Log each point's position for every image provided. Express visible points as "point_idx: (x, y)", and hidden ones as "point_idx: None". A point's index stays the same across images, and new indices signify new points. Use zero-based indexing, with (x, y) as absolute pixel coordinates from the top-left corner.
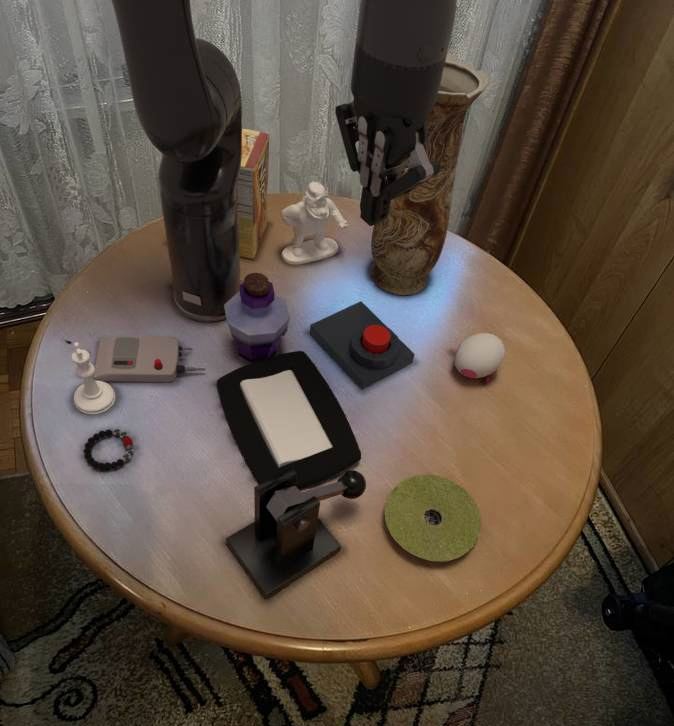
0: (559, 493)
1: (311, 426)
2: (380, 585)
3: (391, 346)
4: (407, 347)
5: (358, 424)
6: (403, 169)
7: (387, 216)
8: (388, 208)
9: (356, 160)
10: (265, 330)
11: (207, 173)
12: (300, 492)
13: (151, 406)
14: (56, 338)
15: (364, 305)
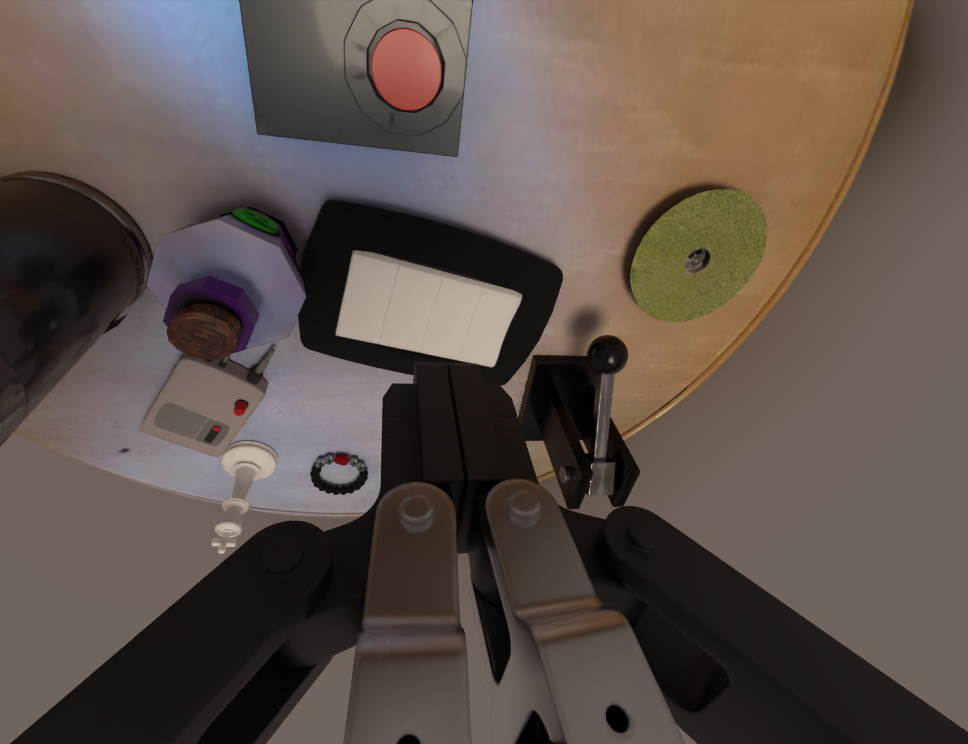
0: (867, 20)
1: (472, 298)
2: (671, 348)
3: (440, 44)
4: None
5: (505, 213)
6: (612, 608)
7: (512, 401)
8: (520, 433)
9: (310, 678)
10: (292, 309)
11: None
12: (602, 464)
13: (297, 417)
14: (109, 459)
15: None
